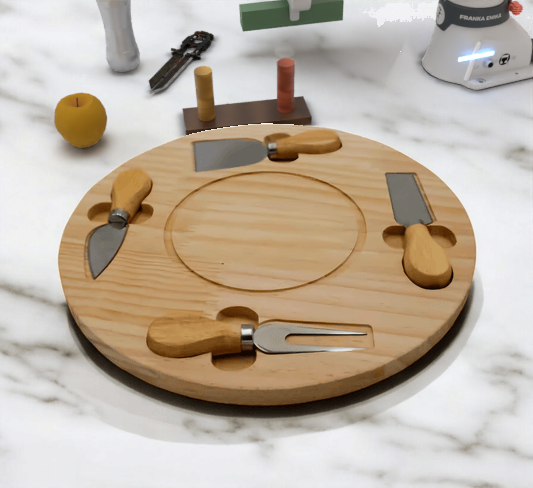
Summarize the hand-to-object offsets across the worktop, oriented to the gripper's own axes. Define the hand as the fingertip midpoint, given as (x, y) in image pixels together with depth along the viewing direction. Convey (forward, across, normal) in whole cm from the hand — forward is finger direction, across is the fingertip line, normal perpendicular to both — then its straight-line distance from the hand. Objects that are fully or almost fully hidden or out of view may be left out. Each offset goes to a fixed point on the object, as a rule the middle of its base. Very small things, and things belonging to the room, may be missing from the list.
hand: (291, 13), depth 128 cm
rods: (+8, -23, +13) cm, 27 cm away
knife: (+8, -1, +23) cm, 24 cm away
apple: (+7, -25, +41) cm, 48 cm away
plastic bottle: (+8, 0, +34) cm, 35 cm away
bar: (+2, 0, 0) cm, 2 cm away
